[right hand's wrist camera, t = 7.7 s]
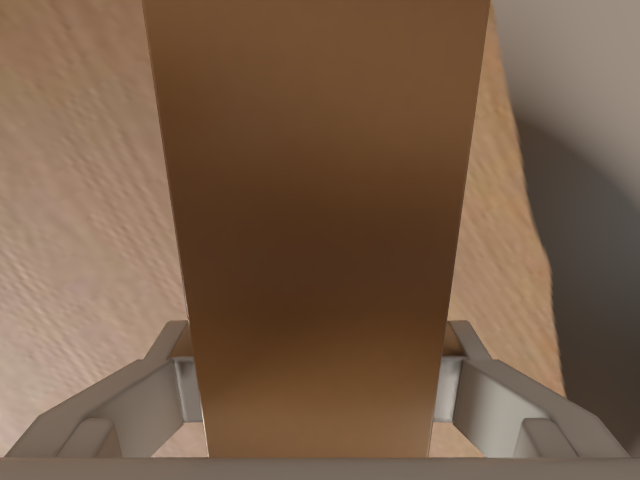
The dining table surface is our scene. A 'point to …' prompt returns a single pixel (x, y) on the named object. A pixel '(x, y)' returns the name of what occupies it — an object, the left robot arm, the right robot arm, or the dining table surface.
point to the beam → (317, 211)
